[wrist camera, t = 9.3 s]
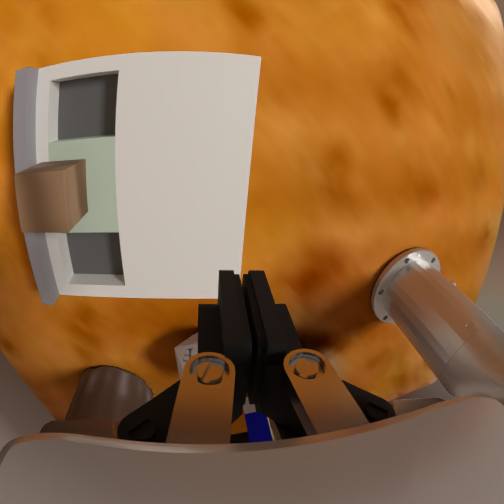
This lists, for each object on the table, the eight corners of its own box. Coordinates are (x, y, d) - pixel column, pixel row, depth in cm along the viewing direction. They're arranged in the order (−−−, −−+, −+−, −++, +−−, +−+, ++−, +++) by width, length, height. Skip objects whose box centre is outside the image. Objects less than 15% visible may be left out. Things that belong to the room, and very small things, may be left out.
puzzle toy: (260, 393, 44) (273, 444, 36) (268, 419, 49) (280, 463, 40) (202, 405, 44) (207, 456, 35) (217, 430, 48) (224, 474, 40)
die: (243, 312, 36) (203, 342, 28) (265, 371, 36) (234, 412, 27) (193, 324, 40) (148, 351, 31) (215, 377, 40) (177, 412, 31)
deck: (255, 61, 23) (266, 52, 19) (235, 285, 33) (240, 309, 30) (38, 73, 19) (16, 70, 15) (56, 282, 29) (42, 304, 25)
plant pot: (66, 341, 33) (34, 437, 19) (173, 368, 38) (174, 471, 24) (73, 401, 40) (58, 477, 25) (158, 420, 44) (159, 499, 30)
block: (85, 159, 22) (62, 170, 18) (88, 211, 24) (68, 232, 20) (41, 162, 21) (14, 174, 17) (45, 212, 23) (21, 232, 19)
